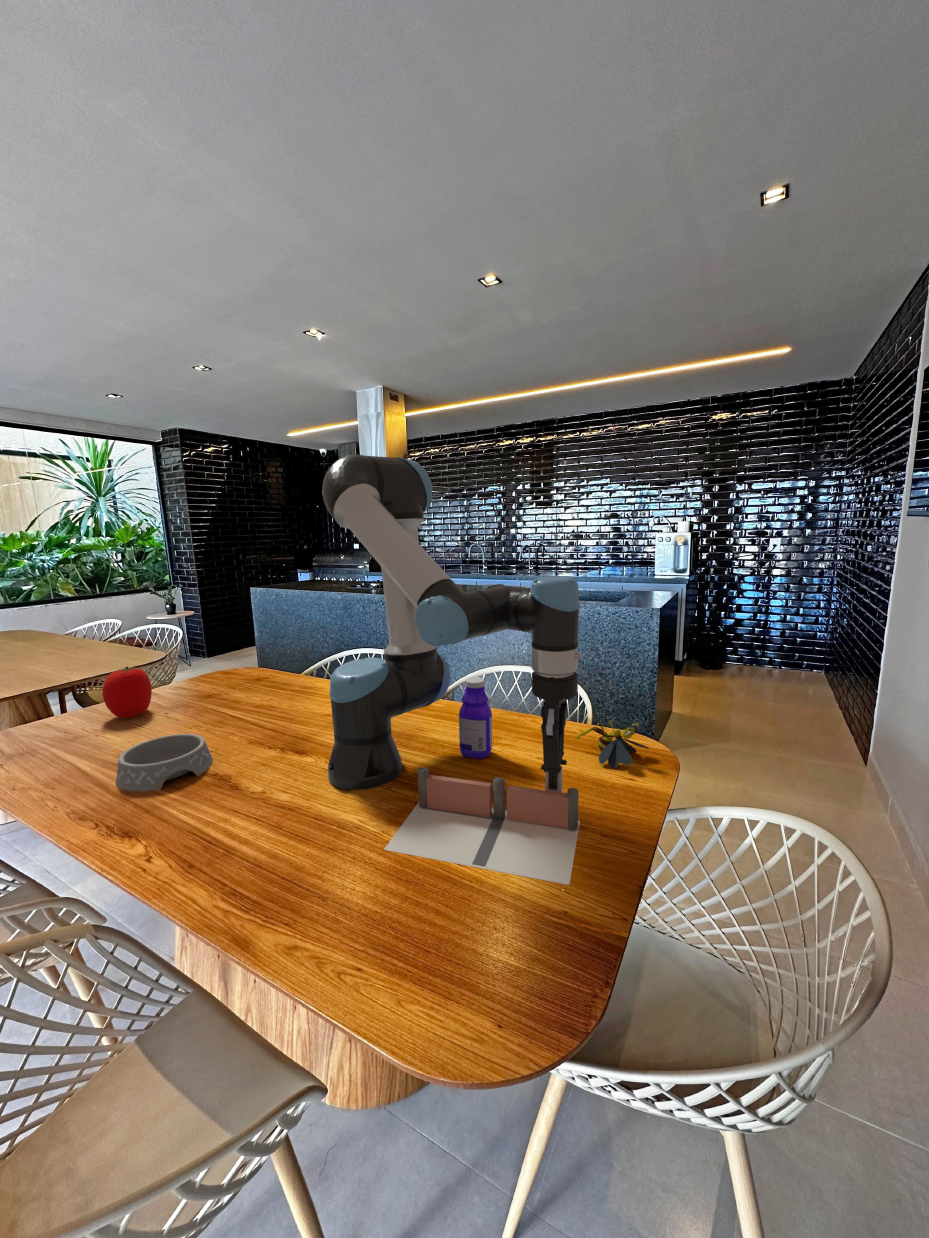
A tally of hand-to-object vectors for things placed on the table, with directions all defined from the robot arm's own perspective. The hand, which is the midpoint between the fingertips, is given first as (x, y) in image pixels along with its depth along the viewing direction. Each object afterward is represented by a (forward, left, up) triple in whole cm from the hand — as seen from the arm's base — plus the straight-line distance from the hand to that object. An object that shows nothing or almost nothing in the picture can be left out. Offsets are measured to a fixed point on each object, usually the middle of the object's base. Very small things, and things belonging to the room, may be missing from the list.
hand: (553, 802), depth 88 cm
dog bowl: (-83, -4, -4) cm, 83 cm away
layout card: (-10, -8, -3) cm, 14 cm away
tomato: (-121, +19, -3) cm, 122 cm away
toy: (+8, +27, -3) cm, 28 cm away
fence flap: (-2, -3, -2) cm, 4 cm away
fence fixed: (-16, -3, -3) cm, 16 cm away
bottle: (-20, +20, -3) cm, 28 cm away
